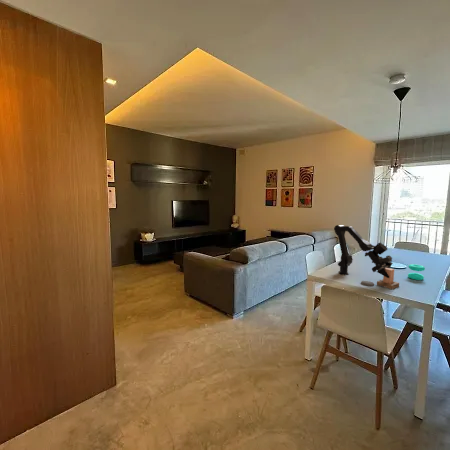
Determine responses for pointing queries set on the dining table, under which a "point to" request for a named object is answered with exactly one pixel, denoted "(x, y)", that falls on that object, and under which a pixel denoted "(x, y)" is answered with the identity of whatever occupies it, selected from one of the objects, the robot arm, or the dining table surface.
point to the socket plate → (391, 286)
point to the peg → (391, 276)
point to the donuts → (416, 275)
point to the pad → (367, 283)
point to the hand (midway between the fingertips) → (390, 277)
